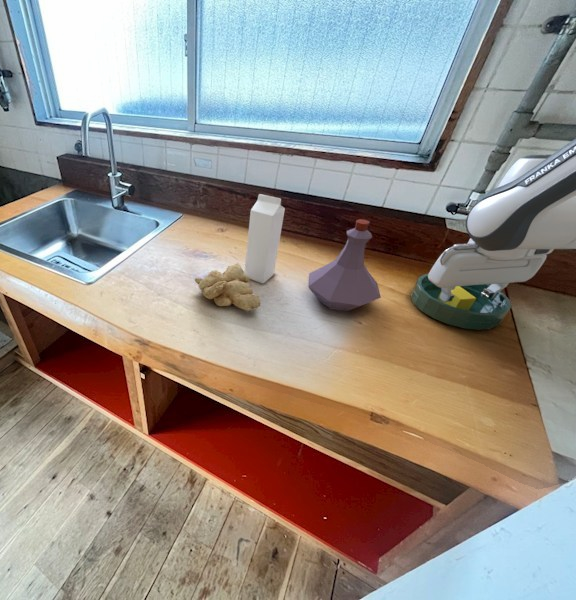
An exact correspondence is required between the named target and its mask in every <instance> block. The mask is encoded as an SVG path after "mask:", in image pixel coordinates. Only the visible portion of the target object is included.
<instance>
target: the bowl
mask: <svg viewBox="0 0 576 600" xmlns="http://www.w3.org/2000/svg"><path fill="white" fill-rule="evenodd" d="M428 274H429V272H428V273H424V274H422V275H421V276H419V278H417V280H416V281H415V283H414V286H413V288H412V290H411V292H410V299H411V301H412V302H413V304H414V306H416V307H417V308H418V309H419V310H420V311H421V312H423V313H424V314H426V315H427V316H428V317H431V318H432V319H435V320H437V321H439V322H441V323H444V324H446V325H450V326H453V327H457V328H461V329H467V330H476V331H479V330H491V329H493V328H496V327H498V326H499V325H500V324H501V323H502V321H503V319H504V318H505V317H506V315H507V314H508V313H509V311H510V310H511V308H512V303H511V300H510V298H509V297H507V295H506V294H505V293H504V292H503V291H502V290H501V291H499V292H497V294H496V295H495V297H494V298H491V299H485V298H484V297H482V296H481V293H482V291H483V289H486V288H488V287H489V286H490V285H491V284H484V285H470V286H460V287H461V288H463V289H464V290H466V291H467V292H468V293H470V294H471V295H473V296H474V297H475V298H476V300H475V302H474V303H473V305H472V306H471V308H470V309H469V311H467V310H462V309H458V308H455V307H452V306H450V305H447V304H445V303H442V302H441V301H439V300H438V299H437V298H438V297H439V295H440V293H441V291H442V290H441V287H437V286H436V285H435V284H433V283H432V282H431V281H430V280H429V279H428Z"/></svg>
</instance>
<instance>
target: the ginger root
mask: <svg viewBox="0 0 576 600" xmlns="http://www.w3.org/2000/svg"><path fill="white" fill-rule="evenodd" d="M250 281H251V279H249V277H248V276H247V275H246V274H244V270H243V268H242V266H241V264H240V263H235V264H232V265H228V266H227V267H226V269H225V271H223V272H220V271H218V270H217V269H216V270H211V271H210V272H209V273H208V274H207V275H205V277H204V278H202V277H201V278H200V277H195V278H194V282H195V283H196V284H197V286H198V288H199V289H200V290H201V291H200V292H201V294H202V295H203V297H205V298H206V299H208V300H212V299H213V302H214V303H215V305H216V306H219V307H228V306H231V305H232V304H233V305H234V306H235V307H237V308H239V309H240V310H244V311H245V312H251V311H252V310H256V309H258V308H259V307H261V303H262V302H261V296H260V295H259V294H254V290H253V289H252V286H251V284H249V283H250Z"/></svg>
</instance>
